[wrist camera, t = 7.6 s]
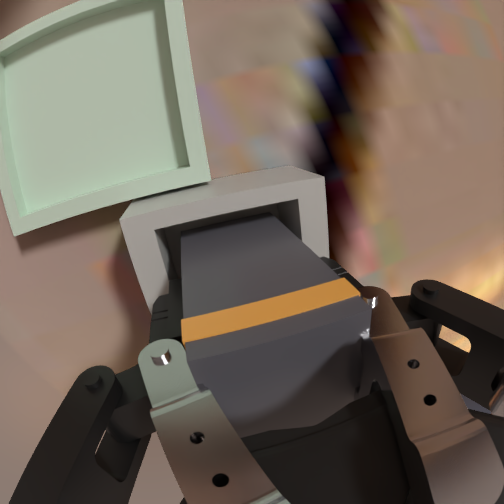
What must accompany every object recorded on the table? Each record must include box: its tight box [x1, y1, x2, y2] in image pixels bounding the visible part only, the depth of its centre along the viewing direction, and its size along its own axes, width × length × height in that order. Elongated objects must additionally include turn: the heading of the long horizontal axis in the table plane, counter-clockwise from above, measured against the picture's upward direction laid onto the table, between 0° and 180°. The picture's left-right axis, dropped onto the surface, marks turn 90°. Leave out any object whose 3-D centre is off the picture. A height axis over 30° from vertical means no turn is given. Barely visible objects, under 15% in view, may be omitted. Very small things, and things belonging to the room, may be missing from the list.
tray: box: [0, 0, 211, 237], centre depth 10 cm, size 11×11×2 cm
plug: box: [181, 212, 372, 438], centre depth 10 cm, size 4×4×8 cm
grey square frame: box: [119, 166, 329, 316], centre depth 12 cm, size 11×8×9 cm
